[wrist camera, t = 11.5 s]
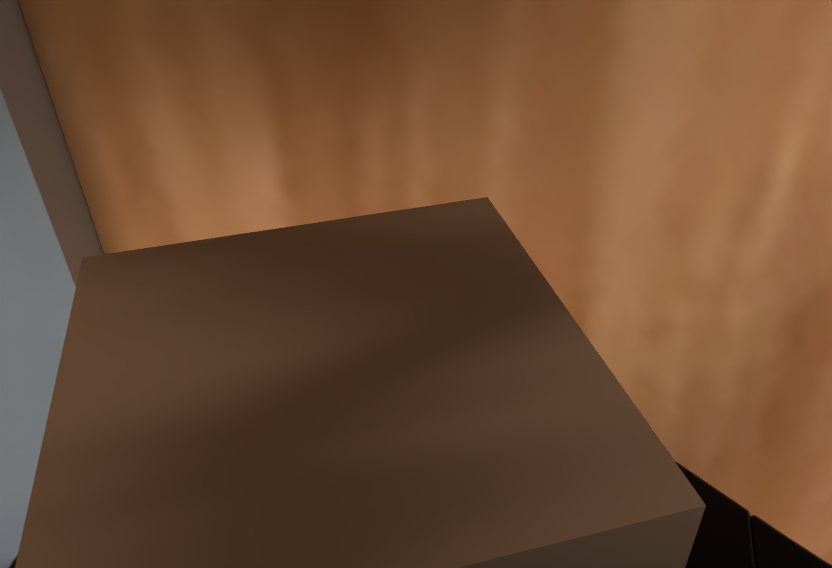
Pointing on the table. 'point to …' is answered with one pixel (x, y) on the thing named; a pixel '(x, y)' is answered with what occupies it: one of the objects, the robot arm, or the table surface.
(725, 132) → the table surface
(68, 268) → the tote
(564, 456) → the walnut cube
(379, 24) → the table surface
